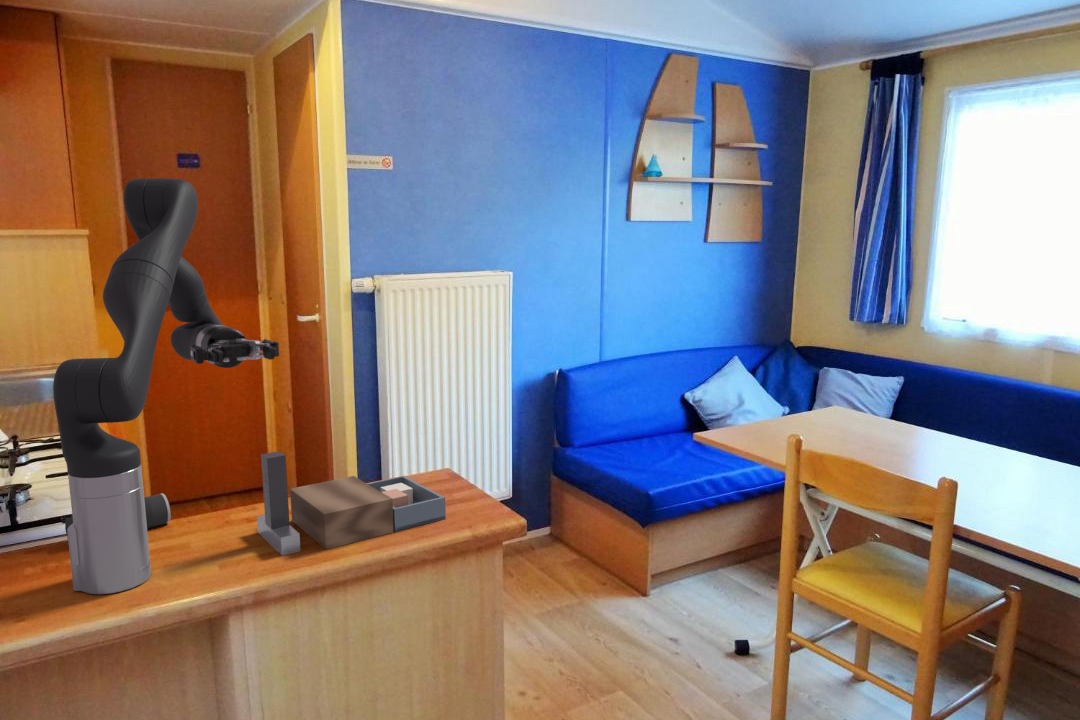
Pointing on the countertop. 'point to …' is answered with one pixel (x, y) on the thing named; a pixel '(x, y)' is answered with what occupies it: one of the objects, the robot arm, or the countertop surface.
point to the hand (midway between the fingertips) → (247, 355)
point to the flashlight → (148, 511)
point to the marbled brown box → (341, 511)
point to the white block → (401, 488)
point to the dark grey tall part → (276, 506)
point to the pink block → (397, 497)
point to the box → (415, 505)
